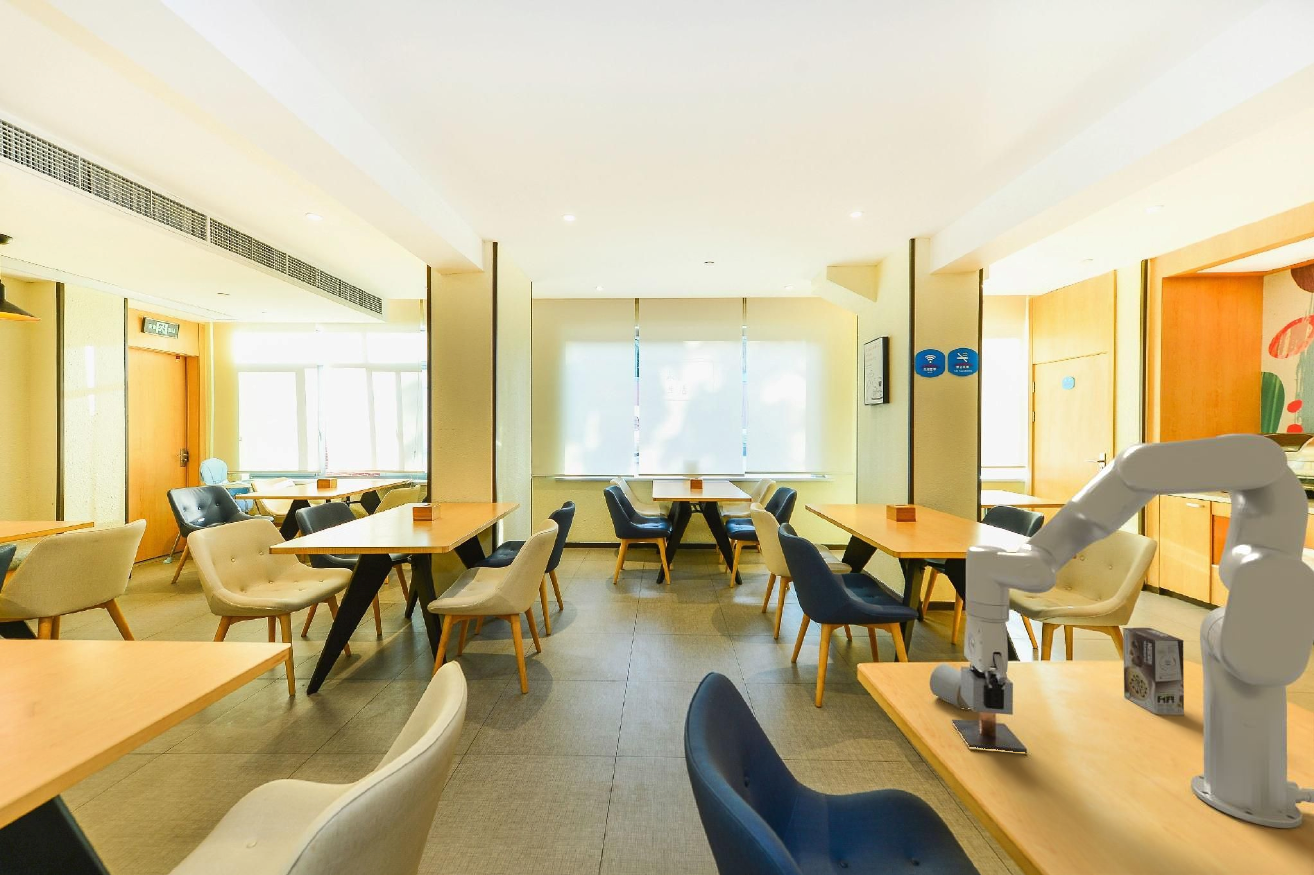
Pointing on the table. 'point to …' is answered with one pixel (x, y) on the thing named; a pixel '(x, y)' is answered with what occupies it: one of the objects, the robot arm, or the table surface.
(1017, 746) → the post
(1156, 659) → the coffee box
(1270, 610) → the robot arm
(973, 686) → the grey square open box
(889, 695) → the table surface
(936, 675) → the ceramic mug
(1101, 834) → the table surface
